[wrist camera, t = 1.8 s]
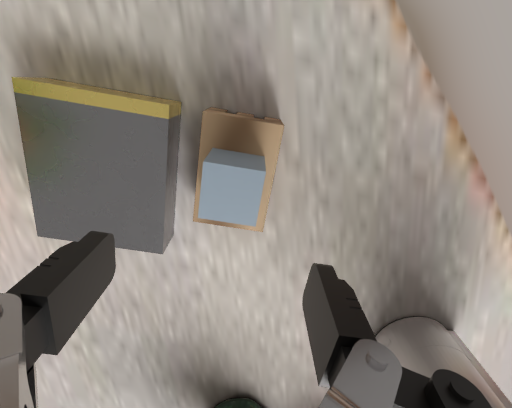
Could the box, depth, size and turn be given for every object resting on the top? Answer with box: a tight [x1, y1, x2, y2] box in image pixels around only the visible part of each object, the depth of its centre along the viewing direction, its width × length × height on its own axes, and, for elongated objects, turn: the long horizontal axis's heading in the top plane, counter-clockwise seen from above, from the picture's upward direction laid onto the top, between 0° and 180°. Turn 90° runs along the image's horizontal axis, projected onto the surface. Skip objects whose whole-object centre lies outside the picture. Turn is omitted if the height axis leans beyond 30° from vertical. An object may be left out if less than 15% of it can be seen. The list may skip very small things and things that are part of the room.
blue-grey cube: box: [198, 148, 266, 227], centre depth 20 cm, size 4×4×4 cm
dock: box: [12, 77, 181, 254], centre depth 24 cm, size 11×13×4 cm
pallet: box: [193, 107, 284, 232], centre depth 24 cm, size 6×9×4 cm, turn 170°
